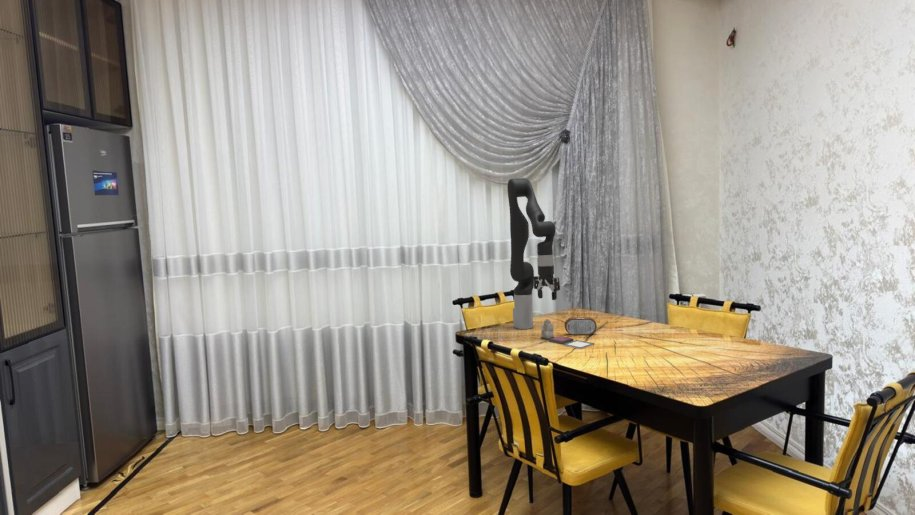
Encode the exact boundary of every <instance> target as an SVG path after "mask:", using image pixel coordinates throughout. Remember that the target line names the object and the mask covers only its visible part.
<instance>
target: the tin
mask: <svg viewBox="0 0 915 515" xmlns="http://www.w3.org/2000/svg"><path fill="white" fill-rule="evenodd" d="M564 329H565V331H566V333H567V334H569V335H572V336H590V335H593V334H594V333H595V332H596V330H597V322H596V320H595V319H594V318H593V317H590V316H571V317H568V318H567V319H566V320H565V322H564Z"/></svg>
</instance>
